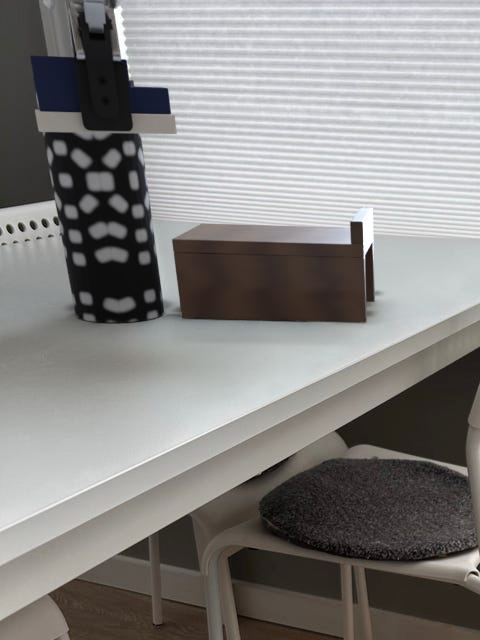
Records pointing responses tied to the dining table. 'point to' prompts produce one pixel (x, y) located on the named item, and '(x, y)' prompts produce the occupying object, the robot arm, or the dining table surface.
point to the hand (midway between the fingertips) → (106, 125)
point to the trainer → (64, 105)
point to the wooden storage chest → (277, 271)
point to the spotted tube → (105, 224)
